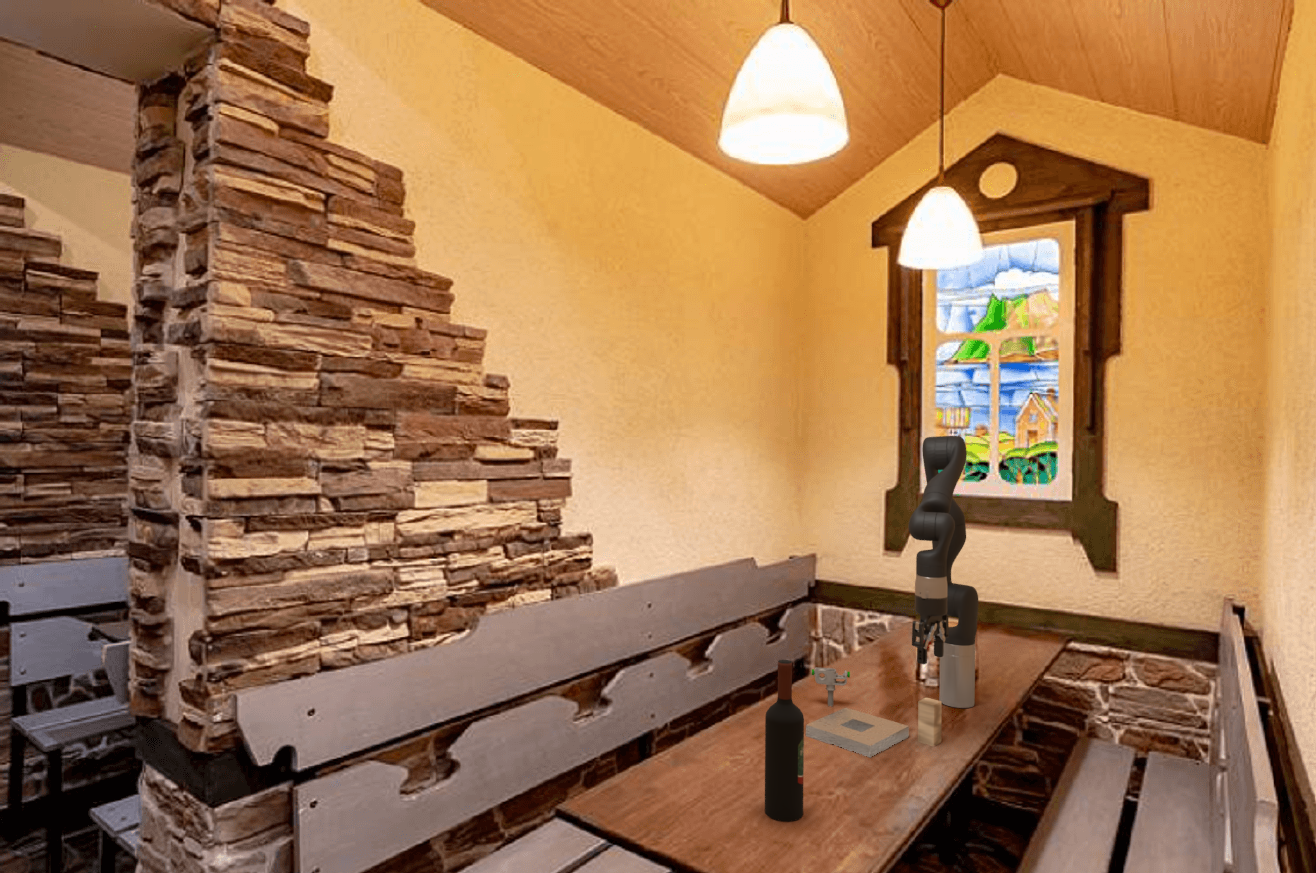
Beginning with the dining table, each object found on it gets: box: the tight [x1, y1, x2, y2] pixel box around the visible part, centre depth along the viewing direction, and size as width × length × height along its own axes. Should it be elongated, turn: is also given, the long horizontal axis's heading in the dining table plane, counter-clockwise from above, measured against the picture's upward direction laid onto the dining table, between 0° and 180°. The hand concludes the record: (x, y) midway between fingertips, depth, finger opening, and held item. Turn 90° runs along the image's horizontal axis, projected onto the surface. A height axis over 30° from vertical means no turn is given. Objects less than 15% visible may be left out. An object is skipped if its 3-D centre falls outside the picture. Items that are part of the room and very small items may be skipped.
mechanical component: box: [811, 666, 851, 708], centre depth 218 cm, size 3×10×10 cm, turn 78°
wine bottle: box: [764, 659, 805, 823], centre depth 157 cm, size 8×8×30 cm
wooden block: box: [917, 697, 943, 747], centre depth 193 cm, size 4×4×10 cm
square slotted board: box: [805, 707, 910, 759], centre depth 196 cm, size 18×18×3 cm
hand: (930, 660), depth 193 cm, fingers open, 8 cm apart
